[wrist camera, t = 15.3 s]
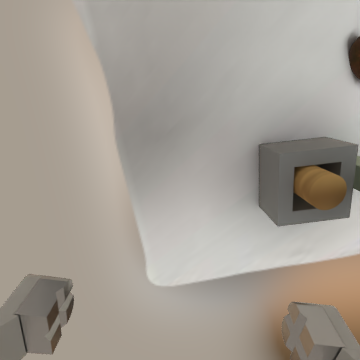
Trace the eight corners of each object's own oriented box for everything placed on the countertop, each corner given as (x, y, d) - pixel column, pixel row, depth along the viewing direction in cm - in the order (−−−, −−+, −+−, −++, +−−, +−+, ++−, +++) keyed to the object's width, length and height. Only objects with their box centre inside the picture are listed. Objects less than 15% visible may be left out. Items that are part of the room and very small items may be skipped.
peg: (273, 156, 34) (311, 176, 26) (301, 153, 35) (349, 172, 26) (272, 184, 36) (308, 212, 27) (300, 181, 36) (344, 207, 27)
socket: (259, 144, 34) (279, 153, 28) (325, 136, 34) (358, 144, 28) (259, 206, 37) (277, 226, 31) (320, 198, 37) (349, 217, 31)
